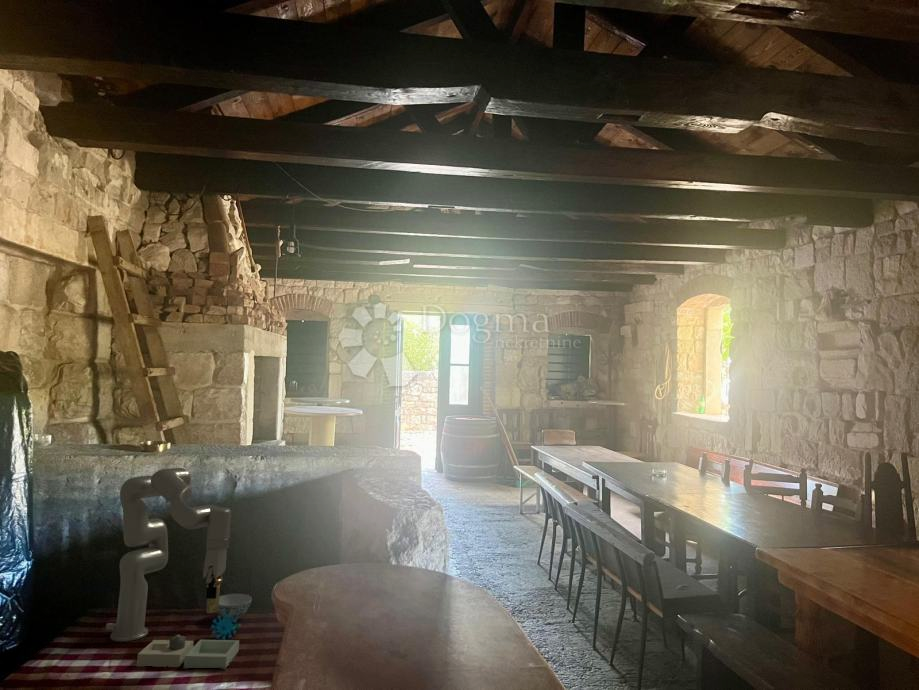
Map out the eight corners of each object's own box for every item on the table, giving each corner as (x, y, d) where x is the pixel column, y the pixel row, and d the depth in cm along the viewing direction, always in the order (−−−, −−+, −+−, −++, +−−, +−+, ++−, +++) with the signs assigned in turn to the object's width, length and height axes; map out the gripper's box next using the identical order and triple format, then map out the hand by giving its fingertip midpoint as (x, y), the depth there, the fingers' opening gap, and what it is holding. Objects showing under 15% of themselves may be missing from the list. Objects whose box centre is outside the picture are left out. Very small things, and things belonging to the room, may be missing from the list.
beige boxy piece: (136, 666, 196) (139, 641, 197) (152, 651, 208) (155, 628, 209) (178, 667, 197) (181, 642, 198) (192, 652, 209) (194, 629, 210)
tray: (183, 668, 196) (184, 656, 197) (199, 651, 210) (200, 639, 210) (225, 669, 197) (226, 656, 197) (238, 651, 211) (239, 640, 211)
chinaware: (212, 614, 247) (213, 595, 248) (249, 610, 253) (250, 592, 253) (212, 626, 233) (214, 606, 234) (251, 623, 239) (253, 603, 240)
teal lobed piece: (210, 638, 218) (212, 612, 225) (206, 646, 220) (209, 620, 228) (240, 638, 223) (242, 613, 230) (236, 645, 225) (238, 620, 233)
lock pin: (202, 613, 202) (204, 581, 204) (207, 608, 207) (210, 576, 209) (217, 613, 203) (219, 581, 204) (222, 608, 208) (224, 577, 209)
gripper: (215, 538, 216) (211, 589, 214) (198, 548, 199) (193, 603, 197) (235, 538, 216) (232, 589, 214) (220, 549, 200) (215, 604, 198)
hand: (213, 595), depth 206 cm, fingers closed on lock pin, 4 cm apart
